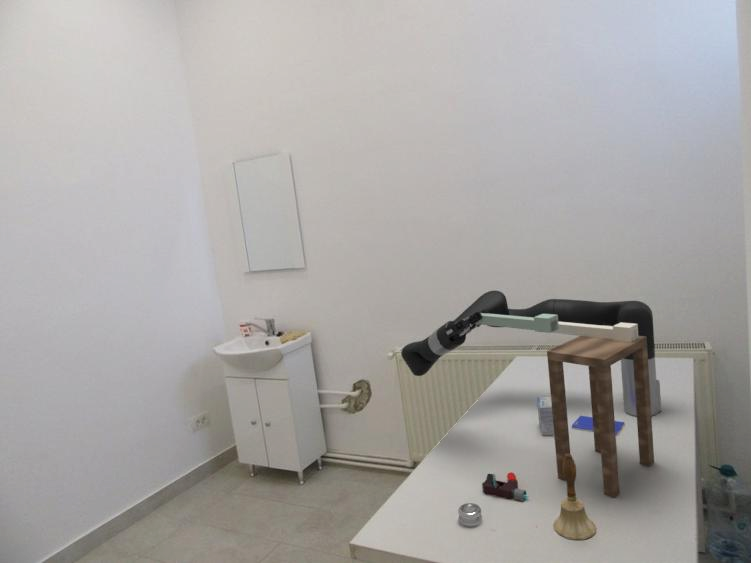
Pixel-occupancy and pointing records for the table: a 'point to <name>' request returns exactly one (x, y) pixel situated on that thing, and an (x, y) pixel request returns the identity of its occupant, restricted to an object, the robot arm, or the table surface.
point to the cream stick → (601, 331)
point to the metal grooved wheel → (470, 515)
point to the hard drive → (587, 424)
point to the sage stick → (522, 322)
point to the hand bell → (573, 509)
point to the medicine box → (545, 415)
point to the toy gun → (503, 487)
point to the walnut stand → (601, 400)
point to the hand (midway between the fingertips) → (483, 313)
